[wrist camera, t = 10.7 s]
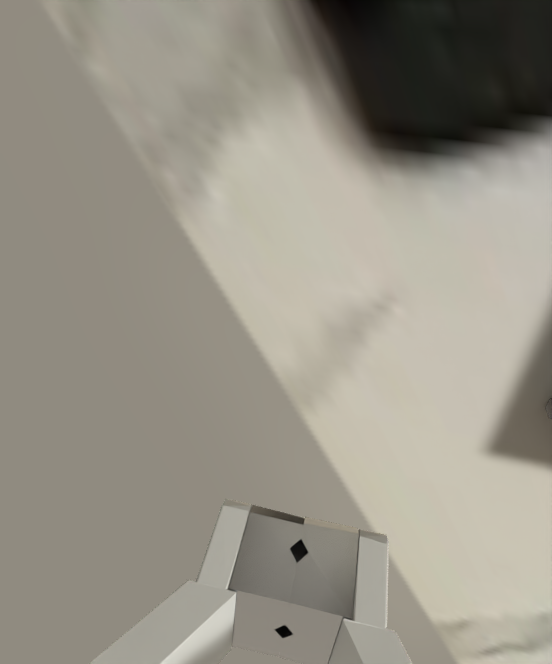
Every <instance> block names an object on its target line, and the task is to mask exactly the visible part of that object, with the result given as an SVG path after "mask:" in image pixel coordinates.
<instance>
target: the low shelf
mask: <svg viewBox="0 0 552 664" xmlns="http://www.w3.org/2000/svg"><path fill="white" fill-rule="evenodd" d="M546 411H547V414H548V417H549V418H551V419H552V399H551V398H550V400H549V402H548V404H547V406H546Z"/></svg>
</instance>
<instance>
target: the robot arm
mask: <svg viewBox="0 0 552 664" xmlns="http://www.w3.org/2000/svg"><path fill="white" fill-rule="evenodd" d="M388 549H389V541H388V538H387V536H386V535H385V534H380V533H375V532H370V531H365V530H360V529H359V530H358V528H356V527H351V526H346V525H341V524H337V523H332V522H327V521H323V520H318V519H313V518H308V517H305V518H304V517H300V516H296V515H292V514H288V513H284V512H280V511H275V510H271V509H267V508H263V507H259V506H255V505H252V504H247V503H243V502H239V501H235V500H230V499H225V501H224V503H223V505H222V507H221V509H220V512H219V515H218V518H217V521H216V524H215V527H214V530H213V533H212V536H211V539H210V541H209V544H208V547H207V550H206V553H205V556H204V559H203V562H202V565H201V568H200V571H199V574H198V577H197V580H196V581H191V580H187V581H186V582H185V583H184V584H182V585H181V586H180V587H179V588H178V589H177V590H175V591H174V592H173V593H172V594H171V595H170V596H168V597H167V598H166V599H165V600H164V601H162V602H161V603H160V604H159V605H158V606H157V607H155V609H153V610H152V611H151V612H149V613H148V614H147V615H146V616H145V617H144V618H142V619H141V620H140V621H139V622H138V623H137V624H135V625H134V626H133V627H132V628H131V629H130V630H128V631H127V632H126V633H125V634H124V635H123V636H121V637H120V638H119V639H118V640H117V641H115V642H114V643H113V644H112V645H111V646H110V647H109V648H107V649H106V650H105V651H104V652H103V653H101V654H100V655H99V656H98V657H97V658H95V659H94V660H93V661H92V662H91V663H90V664H219V663H220V662H221V661H222V660H223V658H224V657H225V656H226V655H227V654H228V653H229V652H230V651H231V646H232V647H237V648H241V649H246V650H250V651H254V652H259V653H264V654H268V655H272V656H277V657H280V658H284V659H287V660H291V661H294V662H298V663H301V664H412V662H411V660H410V658H409V656H408V654H407V652H406V650H405V648H404V646H403V644H402V643H401V641H400V639H399V637H398V635H397V633H396V631H393V630H390V629H387V595H388V593H387V592H388Z"/></svg>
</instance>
